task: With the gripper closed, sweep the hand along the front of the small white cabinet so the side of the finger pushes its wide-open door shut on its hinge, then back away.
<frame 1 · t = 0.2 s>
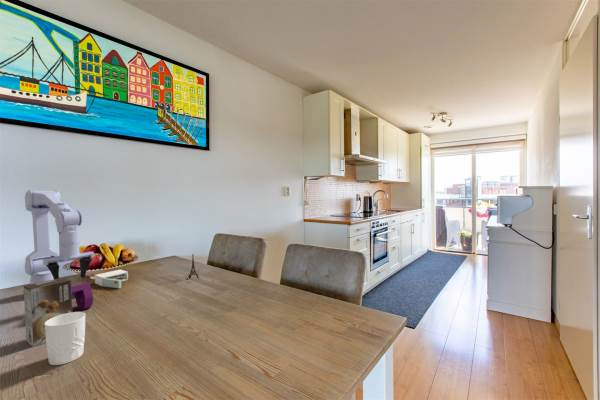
hand: (70, 280, 101), 10 cm above the table, tool pointing down, fingers open, 7 cm apart
coffee box: (50, 337, 79), on the table
door: (111, 283, 122), point 2 cm above the table, hinge at 75.0°
cabinet: (111, 281, 131), on the table
eiffel tower figurine: (192, 278, 136), on the table
white cup: (66, 358, 69), on the table
mounting bracket: (66, 309, 99), on the table
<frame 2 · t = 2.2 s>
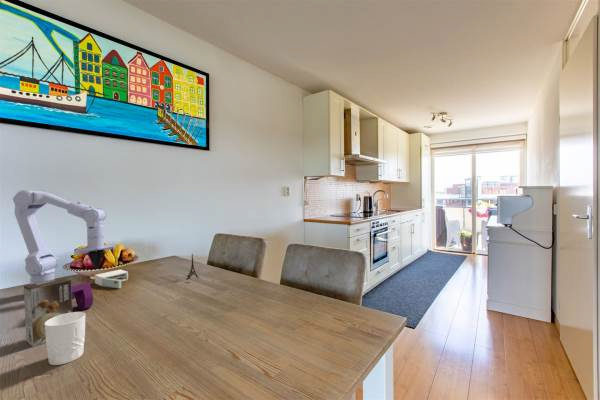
hand: (96, 268, 117), 10 cm above the table, tool pointing down, fingers closed
nothing on the table moved.
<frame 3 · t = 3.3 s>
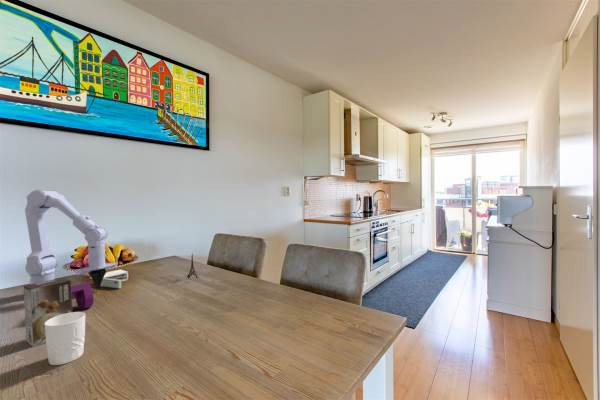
hand: (97, 287, 117), 2 cm above the table, tool pointing down, fingers closed
nothing on the table moved.
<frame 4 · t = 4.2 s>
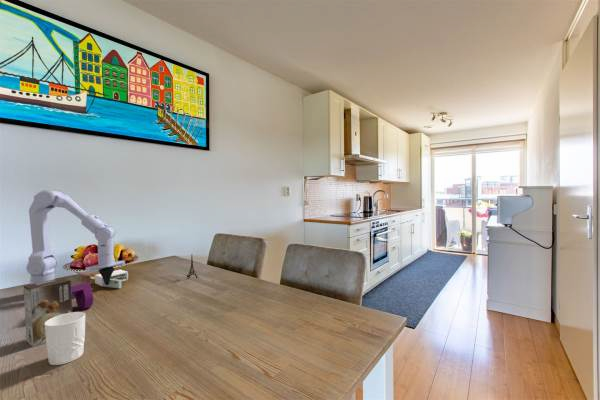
hand: (106, 284, 121), 2 cm above the table, tool pointing down, fingers closed, pressing on door
door: (111, 283, 122), point 2 cm above the table, hinge at 75.0°, touching gripper
everything else where it was.
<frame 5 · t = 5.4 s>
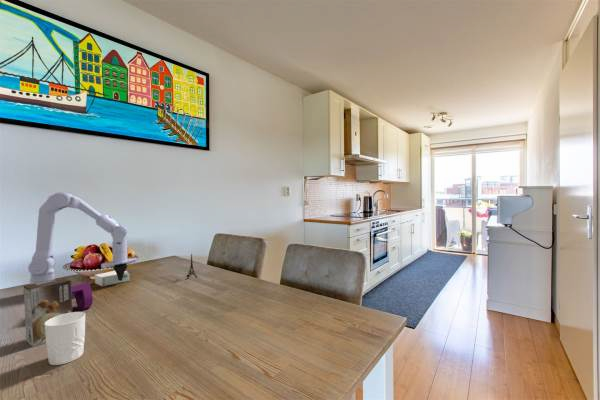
hand: (120, 280, 127), 2 cm above the table, tool pointing down, fingers closed, pressing on door
door: (116, 279, 127), point 2 cm above the table, hinge at 9.7°, touching gripper
everything else where it was.
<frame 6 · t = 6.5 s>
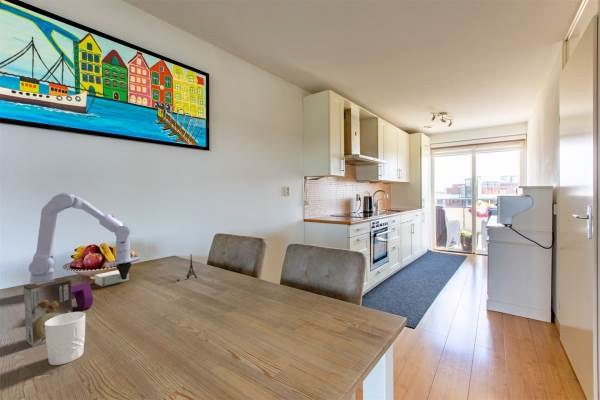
hand: (123, 279, 128), 2 cm above the table, tool pointing down, fingers closed
door: (115, 279, 127), point 2 cm above the table, hinge at 3.0°, touching gripper
everything else where it was.
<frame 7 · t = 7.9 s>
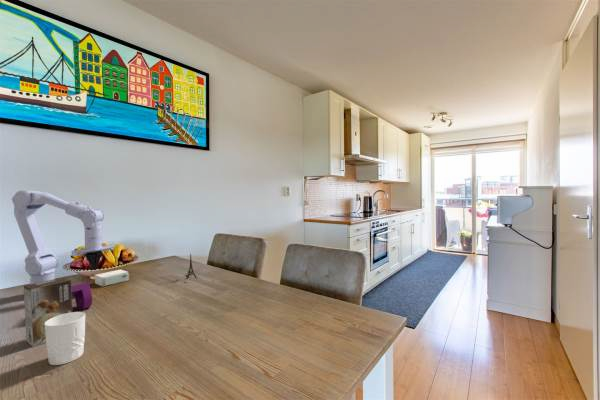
hand: (93, 269, 116), 10 cm above the table, tool pointing down, fingers closed
door: (115, 279, 127), point 2 cm above the table, hinge at 2.9°
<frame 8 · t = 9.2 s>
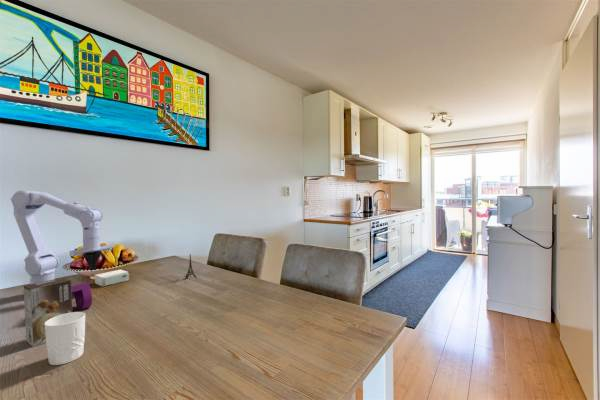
hand: (92, 269, 115), 10 cm above the table, tool pointing down, fingers closed
at the end: door at +3° (first picture: +75°) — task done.
